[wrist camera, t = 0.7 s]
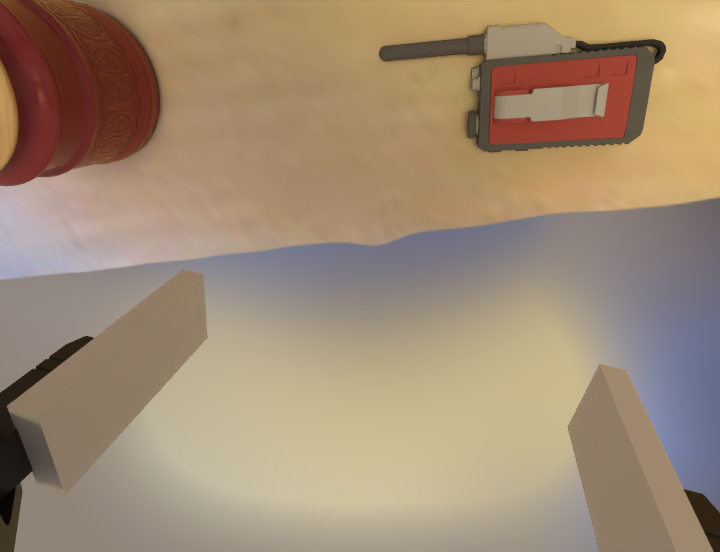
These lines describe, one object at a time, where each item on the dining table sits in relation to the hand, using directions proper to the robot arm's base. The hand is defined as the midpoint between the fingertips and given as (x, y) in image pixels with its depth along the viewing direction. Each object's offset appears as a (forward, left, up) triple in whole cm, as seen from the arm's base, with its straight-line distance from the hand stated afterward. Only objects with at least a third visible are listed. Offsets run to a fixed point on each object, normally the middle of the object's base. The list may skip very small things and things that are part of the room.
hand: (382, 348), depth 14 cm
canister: (-10, -29, -26) cm, 40 cm away
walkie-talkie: (-7, +7, -27) cm, 28 cm away
